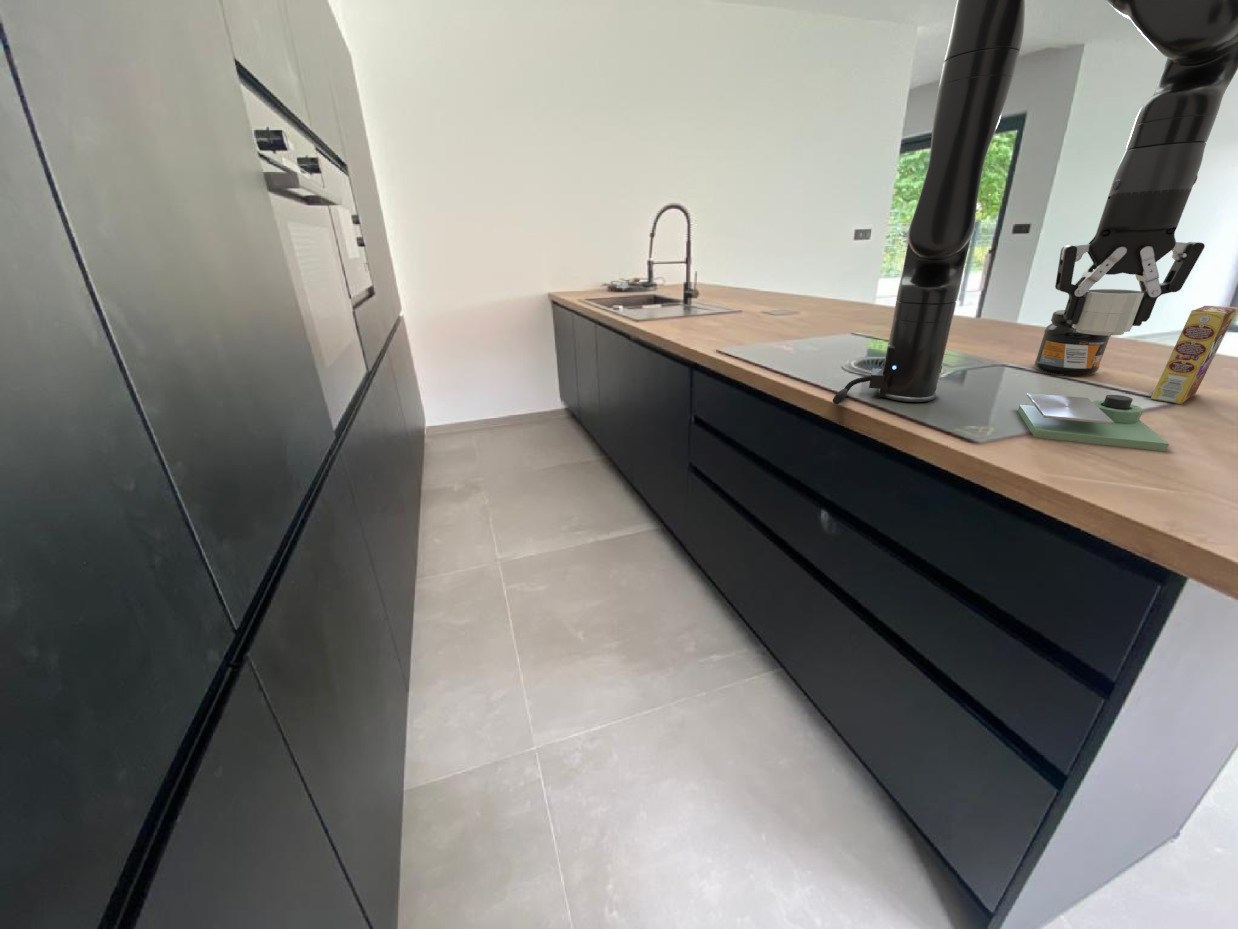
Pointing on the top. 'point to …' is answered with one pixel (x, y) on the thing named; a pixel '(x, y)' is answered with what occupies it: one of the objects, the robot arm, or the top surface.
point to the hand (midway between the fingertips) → (1101, 323)
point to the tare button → (1117, 402)
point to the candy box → (1193, 353)
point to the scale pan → (1068, 408)
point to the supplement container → (1069, 349)
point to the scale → (1096, 428)
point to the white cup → (1109, 311)
